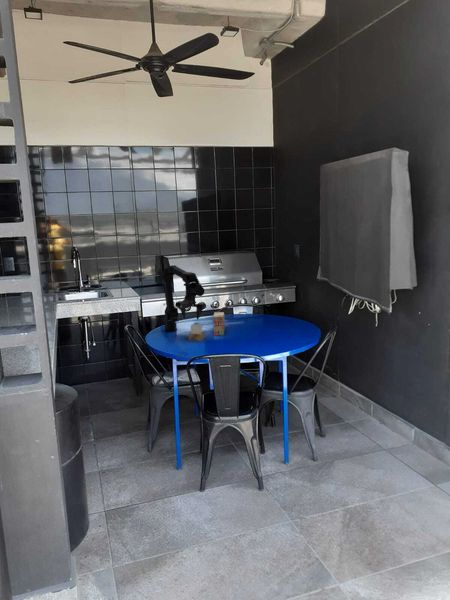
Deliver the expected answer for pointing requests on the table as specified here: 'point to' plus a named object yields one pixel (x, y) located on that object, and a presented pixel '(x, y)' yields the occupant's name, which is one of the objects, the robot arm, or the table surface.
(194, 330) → the cream cube
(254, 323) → the table surface
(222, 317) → the stack of blocks
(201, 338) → the walnut block
